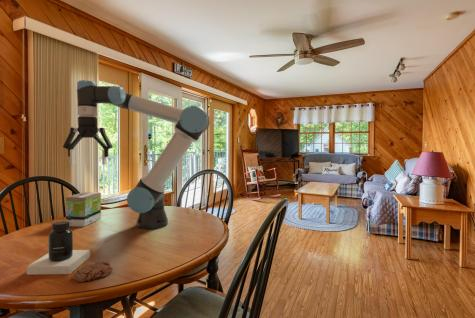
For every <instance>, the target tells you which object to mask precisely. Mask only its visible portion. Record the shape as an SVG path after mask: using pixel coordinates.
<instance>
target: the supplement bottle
mask: <svg viewBox="0 0 475 318" xmlns="http://www.w3.org/2000/svg"><path fill="white" fill-rule="evenodd" d="M73 234H74V232H73V230H72V229H71V228H70V226H69V221H66V220H58V221H54V222H53V223H51V231H50V232H49V233H48V253H49V260H50V261H63V260H66V259H69V258H70V257H72V255H73V250H74V249H73V246H74V245H73V243H74V241H73V240H74V239H73V238H74V237H73V236H74V235H73Z"/></svg>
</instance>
